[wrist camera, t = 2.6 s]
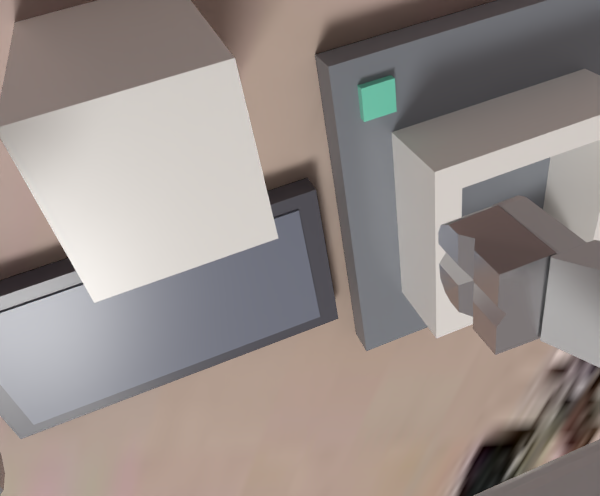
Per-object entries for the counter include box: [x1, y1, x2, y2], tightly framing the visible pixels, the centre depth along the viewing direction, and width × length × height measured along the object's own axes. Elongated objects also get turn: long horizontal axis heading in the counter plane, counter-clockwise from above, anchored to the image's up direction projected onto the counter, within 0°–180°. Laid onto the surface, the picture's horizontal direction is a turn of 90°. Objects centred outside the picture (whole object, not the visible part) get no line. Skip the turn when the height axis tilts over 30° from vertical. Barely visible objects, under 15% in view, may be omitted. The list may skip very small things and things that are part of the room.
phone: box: [0, 178, 338, 439], centre depth 22 cm, size 14×7×1 cm, turn 100°
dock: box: [315, 0, 600, 351], centre depth 22 cm, size 14×12×4 cm
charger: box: [0, 0, 278, 303], centre depth 15 cm, size 5×4×7 cm
